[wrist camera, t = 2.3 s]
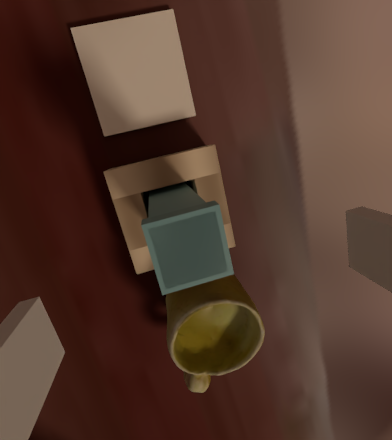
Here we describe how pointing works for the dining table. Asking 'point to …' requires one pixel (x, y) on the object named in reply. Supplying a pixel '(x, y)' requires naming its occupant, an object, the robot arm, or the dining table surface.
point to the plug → (185, 238)
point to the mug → (212, 330)
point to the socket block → (156, 178)
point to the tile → (135, 71)
